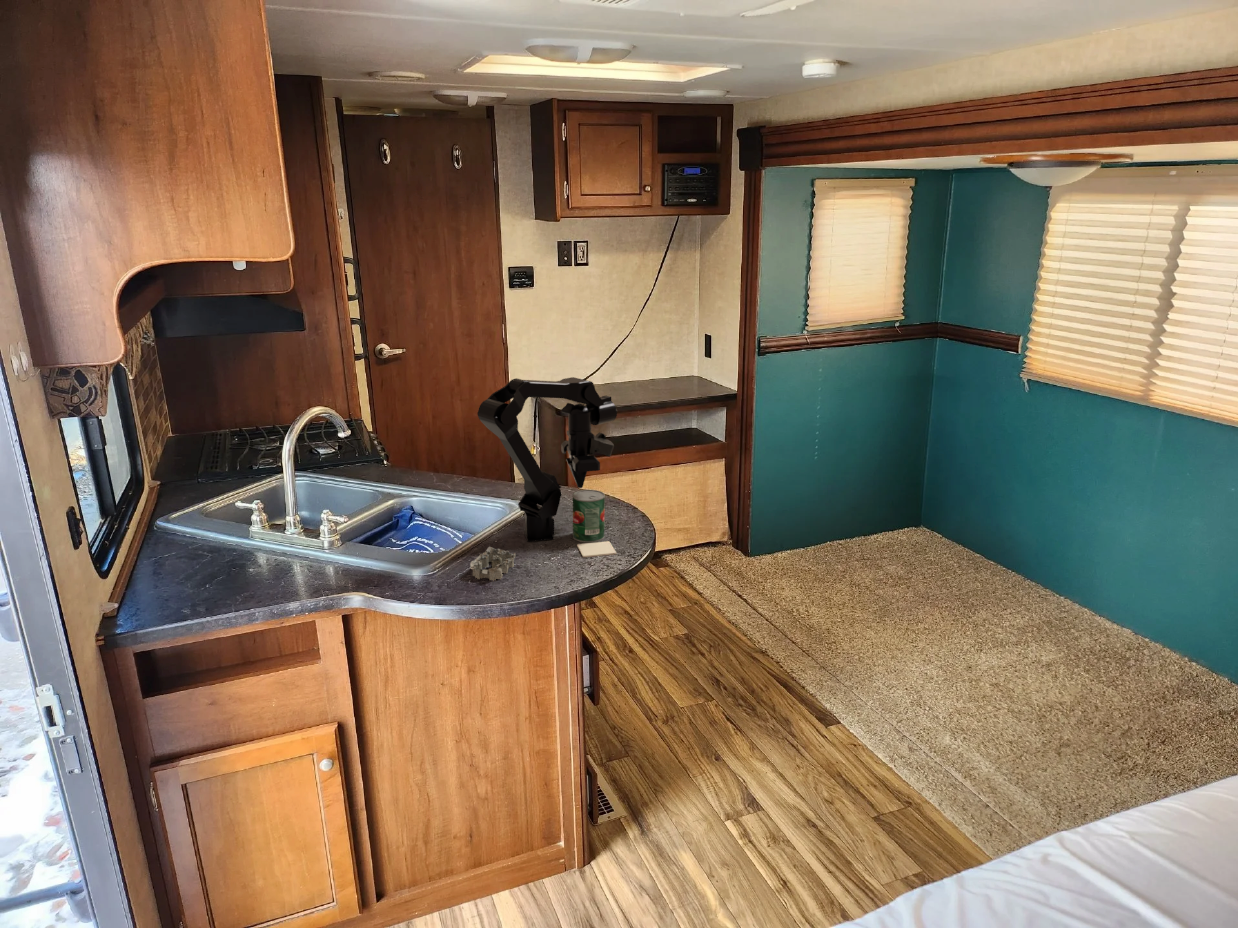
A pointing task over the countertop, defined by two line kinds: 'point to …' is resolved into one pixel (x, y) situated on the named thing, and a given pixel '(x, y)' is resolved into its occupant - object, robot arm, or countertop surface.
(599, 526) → the canned tomato
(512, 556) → the egg carton
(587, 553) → the mat
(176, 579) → the countertop surface
